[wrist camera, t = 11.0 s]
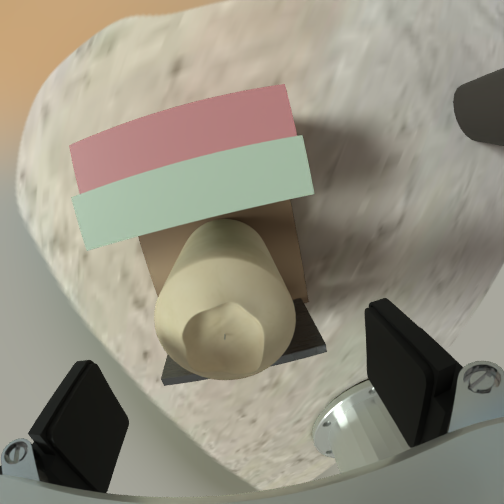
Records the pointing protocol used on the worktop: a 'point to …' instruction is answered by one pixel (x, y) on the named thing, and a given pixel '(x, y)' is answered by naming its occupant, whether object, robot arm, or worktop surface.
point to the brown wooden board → (259, 218)
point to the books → (189, 165)
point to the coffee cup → (482, 108)
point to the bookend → (301, 346)
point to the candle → (225, 304)
